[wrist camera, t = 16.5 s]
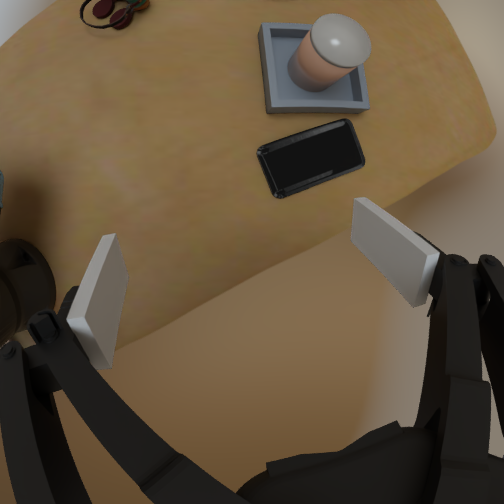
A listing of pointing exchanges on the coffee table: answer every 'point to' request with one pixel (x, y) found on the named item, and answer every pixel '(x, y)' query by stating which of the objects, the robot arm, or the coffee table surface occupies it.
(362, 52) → the beige round cylinder
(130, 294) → the coffee table surface
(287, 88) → the tray
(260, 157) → the phone
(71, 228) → the coffee table surface
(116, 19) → the binoculars
